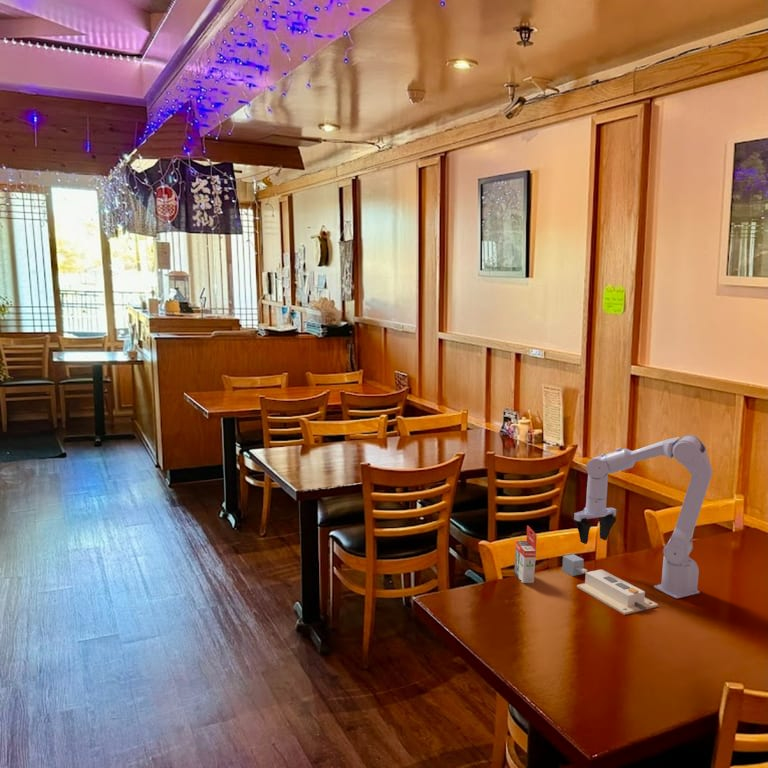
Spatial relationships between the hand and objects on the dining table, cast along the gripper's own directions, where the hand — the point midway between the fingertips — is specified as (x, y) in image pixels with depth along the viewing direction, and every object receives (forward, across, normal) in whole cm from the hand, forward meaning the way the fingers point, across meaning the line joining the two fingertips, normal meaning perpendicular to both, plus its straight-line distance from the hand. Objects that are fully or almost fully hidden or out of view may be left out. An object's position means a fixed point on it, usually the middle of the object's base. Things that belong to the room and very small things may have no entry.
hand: (593, 540), depth 200 cm
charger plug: (+9, +6, 0) cm, 11 cm away
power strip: (+9, +6, +17) cm, 20 cm away
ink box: (+10, +22, -4) cm, 24 cm away
